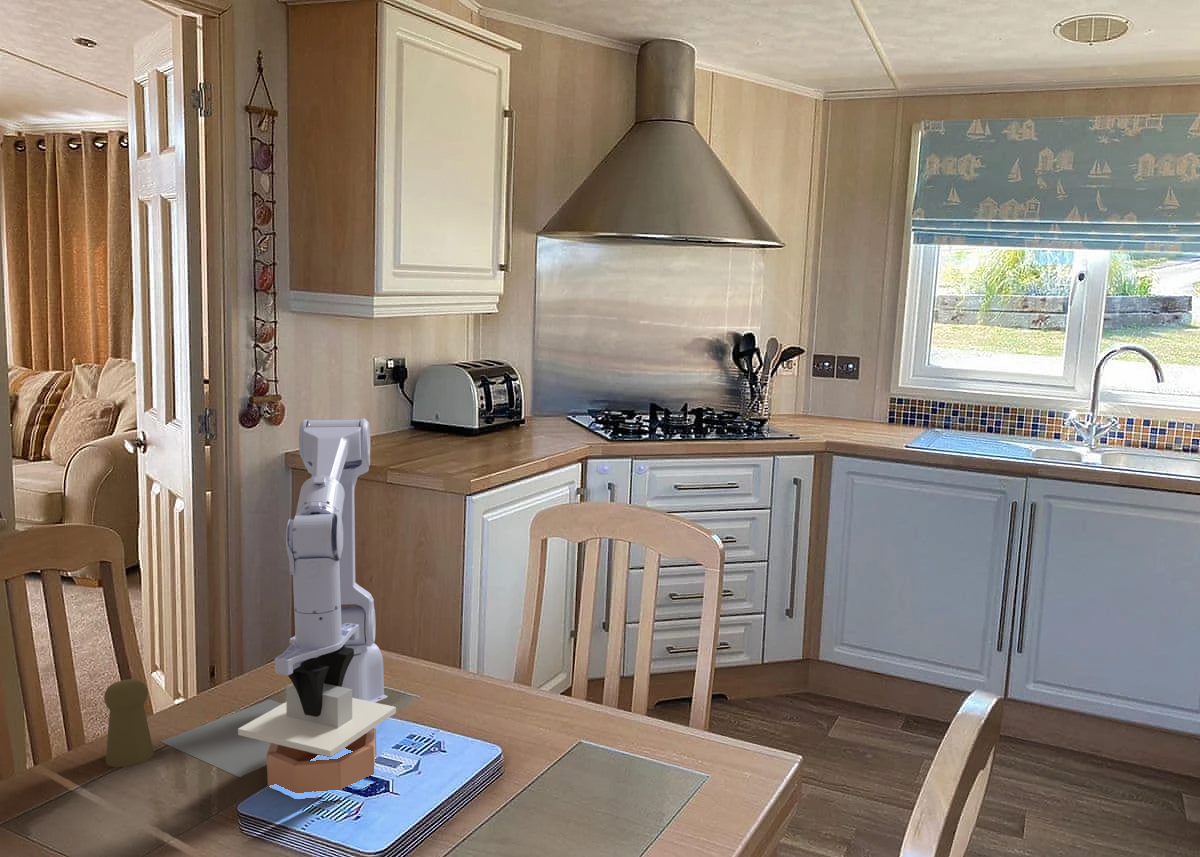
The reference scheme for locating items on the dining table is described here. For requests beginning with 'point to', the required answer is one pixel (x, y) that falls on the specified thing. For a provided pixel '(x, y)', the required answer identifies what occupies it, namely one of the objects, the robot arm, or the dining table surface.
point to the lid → (318, 722)
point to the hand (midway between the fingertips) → (321, 709)
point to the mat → (227, 742)
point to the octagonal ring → (321, 766)
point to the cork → (127, 724)
